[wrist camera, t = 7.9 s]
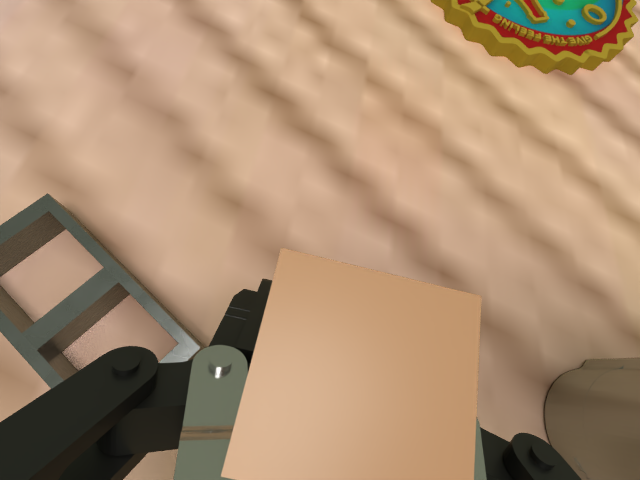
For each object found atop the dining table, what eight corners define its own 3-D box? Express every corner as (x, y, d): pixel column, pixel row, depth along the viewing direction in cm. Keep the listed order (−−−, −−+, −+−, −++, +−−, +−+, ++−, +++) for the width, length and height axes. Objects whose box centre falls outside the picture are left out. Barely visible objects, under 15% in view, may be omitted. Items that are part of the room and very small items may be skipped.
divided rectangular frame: (68, 209, 30) (47, 193, 27) (207, 350, 28) (200, 347, 25) (-26, 276, 28) (-59, 265, 25) (120, 437, 25) (101, 445, 22)
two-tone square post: (275, 322, 17) (281, 247, 7) (355, 340, 17) (481, 295, 7) (252, 412, 16) (215, 493, 5) (339, 431, 16) (470, 546, 5)
